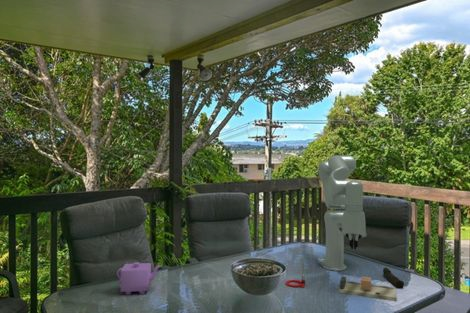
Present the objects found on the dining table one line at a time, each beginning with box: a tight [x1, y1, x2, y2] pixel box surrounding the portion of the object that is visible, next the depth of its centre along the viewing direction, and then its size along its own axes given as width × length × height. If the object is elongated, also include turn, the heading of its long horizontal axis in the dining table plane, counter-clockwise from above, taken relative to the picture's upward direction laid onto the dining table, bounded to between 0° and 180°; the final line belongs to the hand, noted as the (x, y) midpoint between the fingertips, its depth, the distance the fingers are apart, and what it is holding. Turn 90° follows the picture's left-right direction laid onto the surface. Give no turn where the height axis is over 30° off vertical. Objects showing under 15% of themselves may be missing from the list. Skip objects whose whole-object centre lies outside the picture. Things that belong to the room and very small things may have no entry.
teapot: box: [116, 261, 163, 295], centre depth 161 cm, size 20×10×12 cm, turn 97°
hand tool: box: [382, 267, 405, 290], centre depth 175 cm, size 19×4×5 cm, turn 176°
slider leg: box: [360, 275, 372, 291], centre depth 161 cm, size 4×7×4 cm, turn 157°
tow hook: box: [285, 257, 307, 288], centre depth 170 cm, size 8×13×9 cm
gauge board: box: [337, 276, 398, 302], centre depth 161 cm, size 24×12×4 cm, turn 67°
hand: (353, 248), depth 163 cm, fingers closed
